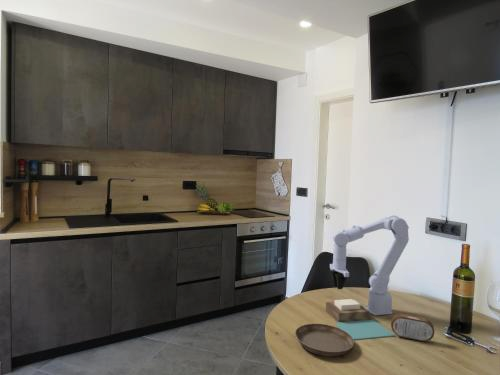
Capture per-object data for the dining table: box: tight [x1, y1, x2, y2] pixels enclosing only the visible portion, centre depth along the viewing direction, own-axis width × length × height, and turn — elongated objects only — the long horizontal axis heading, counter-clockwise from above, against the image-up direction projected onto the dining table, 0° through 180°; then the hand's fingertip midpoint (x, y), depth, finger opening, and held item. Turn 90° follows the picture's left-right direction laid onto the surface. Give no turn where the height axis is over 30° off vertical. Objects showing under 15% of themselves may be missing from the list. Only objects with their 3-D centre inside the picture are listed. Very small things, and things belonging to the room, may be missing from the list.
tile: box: [334, 298, 361, 310], centre depth 146 cm, size 9×6×2 cm, turn 103°
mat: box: [334, 319, 396, 341], centre depth 134 cm, size 18×14×1 cm
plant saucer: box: [294, 323, 355, 357], centre depth 121 cm, size 21×21×3 cm
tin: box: [390, 313, 435, 343], centre depth 127 cm, size 15×3×8 cm, turn 71°
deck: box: [325, 301, 370, 322], centre depth 146 cm, size 14×12×4 cm
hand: (338, 287), depth 154 cm, fingers open, 3 cm apart
